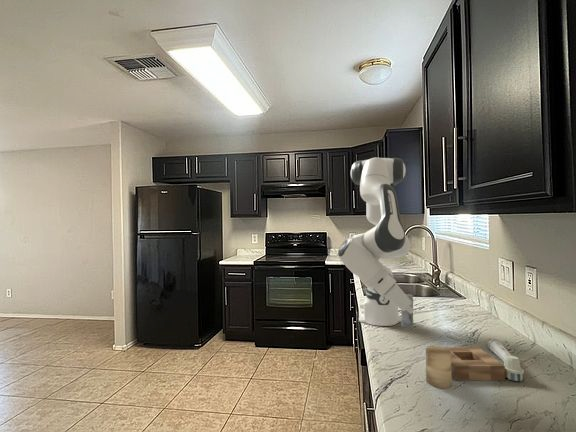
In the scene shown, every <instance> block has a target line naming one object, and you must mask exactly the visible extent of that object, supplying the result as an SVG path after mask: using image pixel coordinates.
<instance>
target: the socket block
mask: <svg viewBox="0 0 576 432" xmlns="http://www.w3.org/2000/svg"><path fill="white" fill-rule="evenodd" d="M444 347H445V348H447V349H449V350H450V351H451V379H453V380H454V381H506V378H505V366H504V363H501V362H500V361H498V360H497V359H496V358H494V357H493V356H492V355H490V354H489V353H487V352H486V351H484V350H483V349H482V348H480V347H479V346H444Z"/></svg>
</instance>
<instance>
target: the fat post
mask: <svg viewBox="0 0 576 432" xmlns="http://www.w3.org/2000/svg"><path fill="white" fill-rule="evenodd" d="M445 347H446V346H442V345H441V346H440V345H429V346H426V347H425V381H426V384H428V385H429V386H431V387H435V388H438V389H449V388H451V387H452V379H453V378H452V377H451V351H450V350H449V349H447V348H445Z"/></svg>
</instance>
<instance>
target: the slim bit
mask: <svg viewBox="0 0 576 432" xmlns="http://www.w3.org/2000/svg"><path fill="white" fill-rule="evenodd" d="M405 294H406V296H407V297H408V298H409V299H410V301H411V302H412V304H411V305H410V306H411V307H412V308H413V309H414V295H413V294H409V293H405ZM400 310H401V309H400ZM400 312H401V317H400V318H401V322H400V323H401V327H402V328H407V329H412V328H414V311H413V312H412V313H411V314H410V313H409V312H408V311H407V310H405V311H403V310H401V311H400Z"/></svg>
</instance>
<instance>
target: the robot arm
mask: <svg viewBox="0 0 576 432" xmlns="http://www.w3.org/2000/svg"><path fill="white" fill-rule="evenodd" d="M406 172H407V170H406V164H405V163H404V160H403V159H401V158H399V157H393V158H390V157H372V158H369V159H364V160H363V159H361V160H360V159H359V160H357V161H355V162H353V164H352V165H351V169H350V178H351V180H352V183H354V184H355V185H358V186H359V193H360V194H359V195H360V197H361V199H362V200H363V202H366V203H365V205H366V209H365V210H366V211H365V212H366V219H367V221H368V222H369V223H370V224H372V225H374V226H373V227H372V228H370V229H369V230H367V231H365V232H364V233H358V234H354V235H353V236H351V237H348V238H346V239H345V240H344V241H343V242H342V243H341V245H340V246H339V248H338V251H337V254H338V255H337V256H338V257H339V259H340V261H341V262H342V264H343V265H345V267H346V268H347V269H348V270H349V271H350V272H351V273H352V274H353V275H355V276H356V277H358V278H359V279H360V281H361V283H362V284H363V285H365V287H366V291H365V299H364V301H363V303H360V304H359V309H360V310H358V321H359V322H360V323H365V324H368V325H373V326H378V327H379V326H380V327H389V326H390V327H391V326H394V325H397V324H398V323H401V317H400V316H399V309H400V310H403V311H405V310H407V311H408V312H409V313H410V314H411V313H412V312H413V313H414V312H415V309H414V307H413V308H412V307H411V306H410V305H411V304H412V302H411V301H410V299H409V298H408V297H407V296H406V294H407V293H405V292H404V291H403V289H402V288H401V287H400V286H399V285H398V284H397V280H396V279H395V278H394V273H393V271H392V269H390V267H389V268H388V267H387V266H385V265H384V264H383V263H382V262H380V259H396V258H397V259H398V258H403V257H406V256H407V255H408V254H409V253H410V250H411V241H410V239H409V238H408V236H407V235H406V232H405V229H404V227H403V223H402V220H401V214H400V208H399V207H400V206H399V201H398V196H397V192H396V190H395V188H394V187H396V185H398V184H400V183H402V182H403V181H404V178H405V176H406ZM391 184H393V186H392V185H391Z"/></svg>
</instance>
